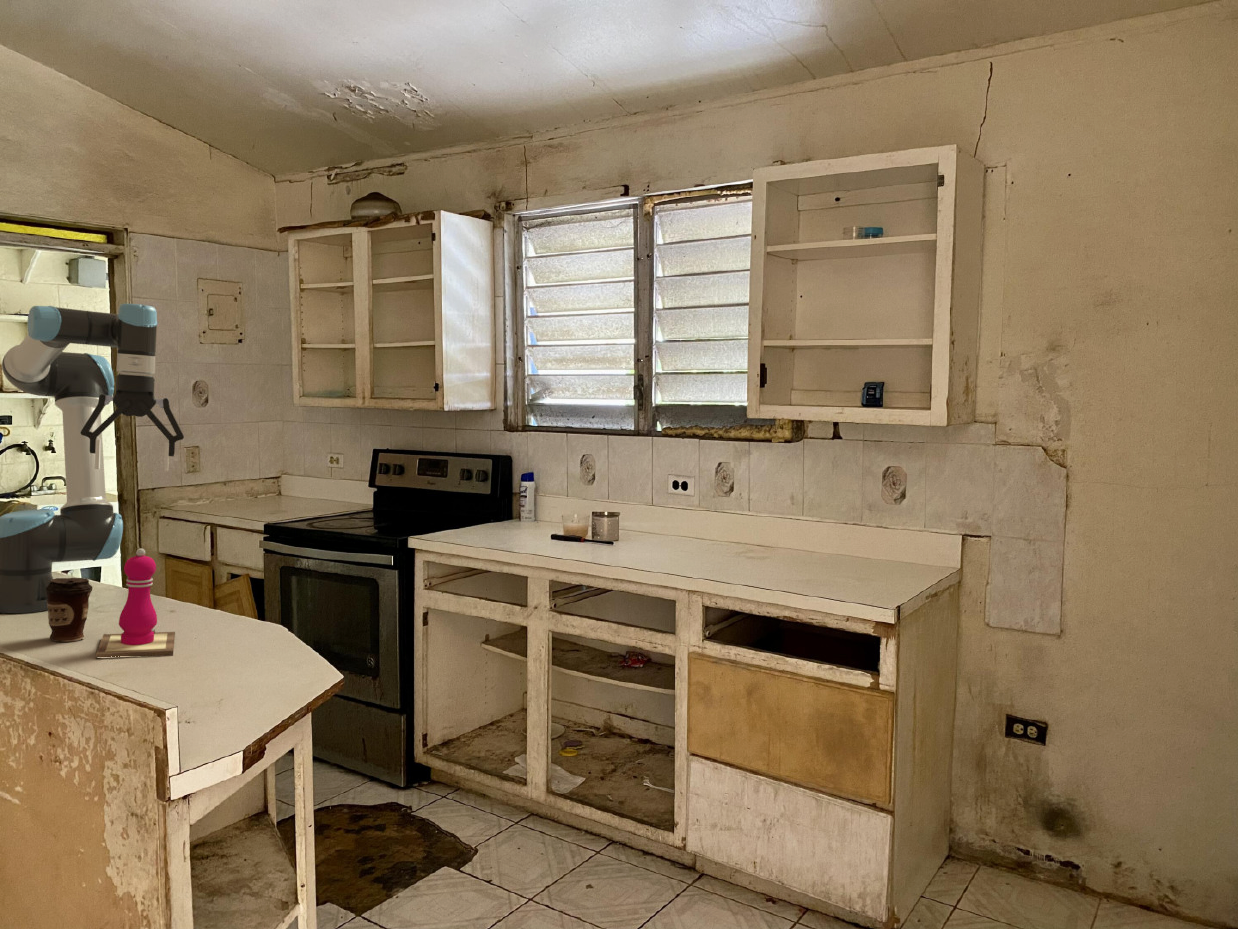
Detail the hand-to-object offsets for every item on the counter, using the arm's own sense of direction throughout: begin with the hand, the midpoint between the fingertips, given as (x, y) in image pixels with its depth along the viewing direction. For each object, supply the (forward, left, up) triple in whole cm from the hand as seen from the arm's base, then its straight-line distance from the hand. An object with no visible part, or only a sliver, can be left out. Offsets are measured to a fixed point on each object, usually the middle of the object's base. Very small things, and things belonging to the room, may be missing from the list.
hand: (132, 469), depth 203 cm
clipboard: (+14, +3, -37) cm, 39 cm away
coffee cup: (+5, -11, -37) cm, 39 cm away
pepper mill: (+14, +3, -36) cm, 38 cm away
